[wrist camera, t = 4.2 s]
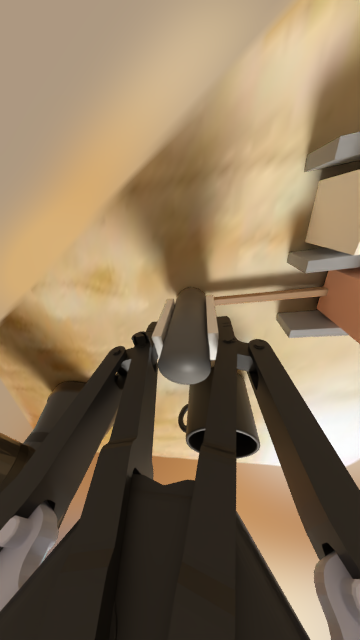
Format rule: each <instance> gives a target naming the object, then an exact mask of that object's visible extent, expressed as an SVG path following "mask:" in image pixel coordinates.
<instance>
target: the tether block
mask: <svg viewBox="0 0 360 640" xmlns="http://www.w3.org/2000/svg"><path fill="white" fill-rule="evenodd" d="M318 296H320V299H319V302H318V305H317V309H318V310H319V311H320V312H322V313H323V314H324V315H325V316H326V317H328V318H329V319H330V320H331V321H333V322H334V323H335V324H336V325H337V326H339V327H340V328H341V329H342V330H343V331H345V332H346V333H347V334H348V335H350V336H351V337H352V338H353V339H354V340H356V341H357V342H358V343H359V344H360V267H357V268H348V269H339V270H330V271H328V274H327V277H326V280H325V284H324V287H315V288H305V289H295V290H284V291H274V292H264V293H253V294H243V295H233V296H223V297H214V304H215V305H227V304H238V303H249V302H261V301H272V300H284V299H295V298H306V297H318ZM158 368H159V370H160V372H161V374H162V375H163V376H164V377H166V378H167V379H169V380H170V381H172V382H175V383H179V384H187V385H188V384H196V383H199V382H201V381H203V380H205V379H206V378H207V377H208V376H209V374H210V371H211V364H210V347H209V342H208V328H207V308H206V296H205V294H204V293H203V292H202V291H201V290H199V289H197V288H186V289H184V290H182V291H181V292H180V293H179V295H178V297H177V300H176V303H175V307H174V310H173V313H172V317H171V320H170V324H169V327H168V330H167V334H166V337H165V341H164V344H163V347H162V351H161V354H160V358H159V361H158Z"/></svg>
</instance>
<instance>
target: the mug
mask: <svg viewBox="0 0 360 640" xmlns="http://www.w3.org/2000/svg"><path fill="white" fill-rule="evenodd" d="M213 374H214V367H213V368H211V371H210V374H209V376H208V377H207V378H206V379H205V380H203V381H201V382H199V383H196V384H190V389H189V402H188V404H187V405H185V406H184V407H183V408H182V410H181V412H180V414H179V418H178V423H179V426H180V428H181V430H182V431H183V432H185V433H186V442H187V444H188V446H189V447H190V448H191V449H193V450H194V451H196V452H198V453H200V448H201V445H202V444H203V440H204V434H205V427H206V420H207V414H208V407H209V401H210V394H211V387H212V381H213ZM187 410H188V416H187V426H186V425H184V423H183V417H184V414H185V413H186V411H187ZM259 448H260V441H259V437H258V433H257V429H256V425H255V421H254V417H253V413H252V409H251V405H250V401H249V397H248V393H247V389H246V385H245V382H244V380H243V378H242V377H241V376H240V375H239V374H238V373H237V415H236V458H243V457H247V456H250V455H253V454H254V453H256V452H257V451H258V450H259Z"/></svg>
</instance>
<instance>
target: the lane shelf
mask: <svg viewBox="0 0 360 640" xmlns="http://www.w3.org/2000/svg"><path fill="white" fill-rule="evenodd" d="M359 160H360V132H356V133H352V134H348V135H344V136H340V137H338V138H336V139H335V140H333V141H331V142H329V143H328V144H326V145H324V146H322V147H320V148H319V149H317V150H315V151H313V152H312V153H310V154H308V156H307V161H306V166H305V172H307V171H312V170H317V169H321V168H326V167H331V166H335V165H340V164H345V163H349V162H354V161H359ZM287 263H289V264H290V265H292V266H294V267H296V268H297V269H299V270H301V271H302V272H304V273H312V272H321V271H330V270H339V269H348V268H357V267H360V255H351V254H347V253H343V252H340V251H336V250H333V249H329V248H318V249H311V250H303V251H296V252H289V256H288V262H287ZM277 321H278V323H279V324H280V326H281V327H282V329H283V330H284V331H285V333H286V334H287V336H288V337H289V338H297V337H320V336H342V335H348V334H347V333H346V332H345V331H343V330H342V329H341V328H340V327H339V326H337V325H336V324H335V323H334V322H333V321H331V320H330V319H329V318H328V317H326V316H325V315H324V314H323V313H322V312H320V311H319V310H314V311H300V312H286V313H278V315H277Z"/></svg>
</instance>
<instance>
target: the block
mask: <svg viewBox="0 0 360 640" xmlns="http://www.w3.org/2000/svg"><path fill="white" fill-rule="evenodd" d="M305 242H307V243H311V244H314V245H318V246H322V247H325V248H329V249H333V250H336V251H340V252H343V253H347V254H351V255H360V169H359V170H356V171H352V172H349V173H345V174H342V175H338V176H335V177H331V178H327V179H324V180H320V181H319V184H318V188H317V193H316V197H315V201H314V206H313V210H312V214H311V219H310V223H309V227H308V232H307V236H306V240H305Z"/></svg>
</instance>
